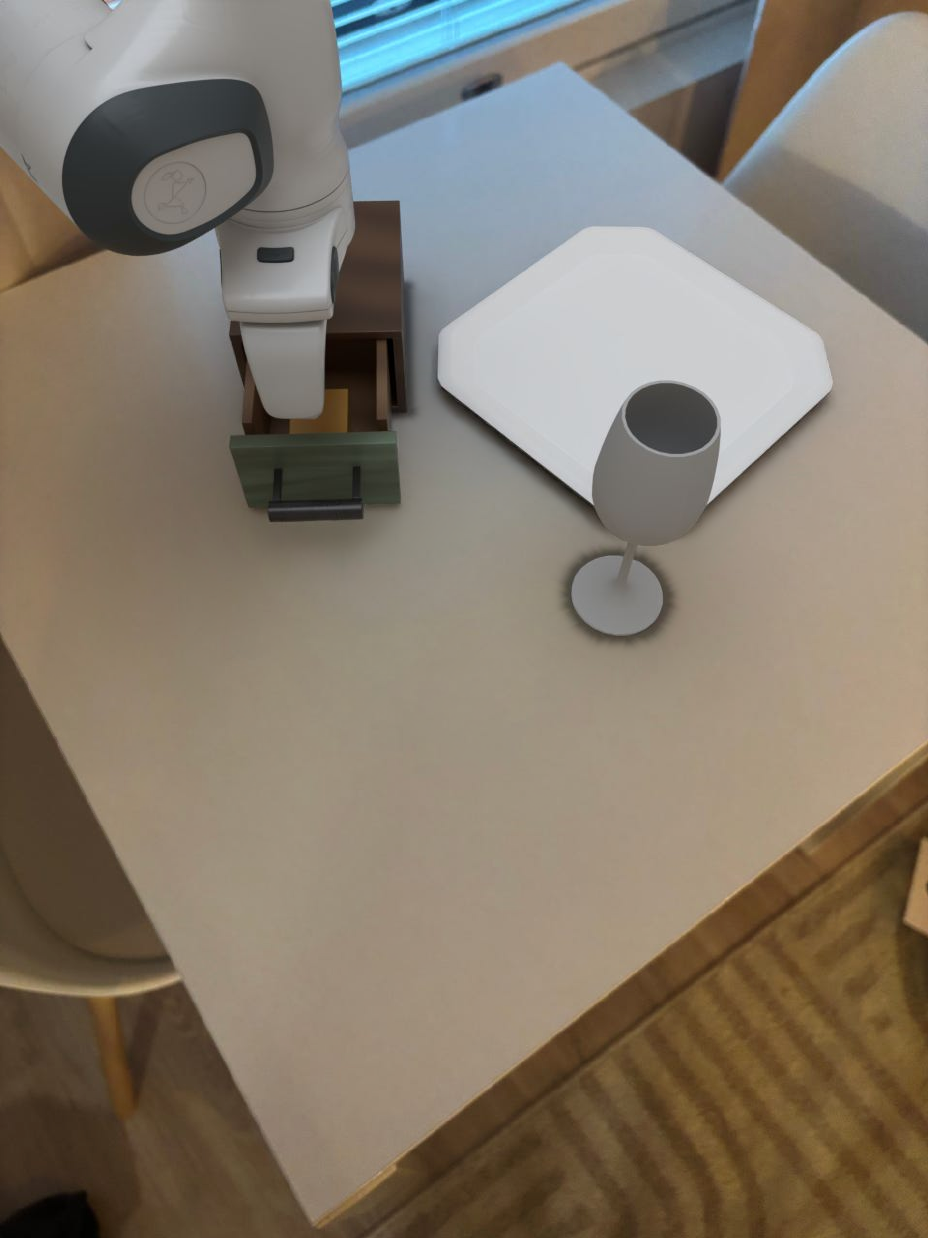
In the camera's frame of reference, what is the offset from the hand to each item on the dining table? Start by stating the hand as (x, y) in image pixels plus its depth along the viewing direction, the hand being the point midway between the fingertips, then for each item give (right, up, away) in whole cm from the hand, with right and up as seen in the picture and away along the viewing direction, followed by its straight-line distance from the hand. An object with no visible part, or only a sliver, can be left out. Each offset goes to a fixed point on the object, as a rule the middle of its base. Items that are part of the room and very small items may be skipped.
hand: (310, 363), depth 71 cm
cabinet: (0, +5, +15) cm, 16 cm away
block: (0, -5, +7) cm, 9 cm away
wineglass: (+24, -18, +3) cm, 30 cm away
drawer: (0, -6, +8) cm, 10 cm away
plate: (+27, +3, +14) cm, 30 cm away
